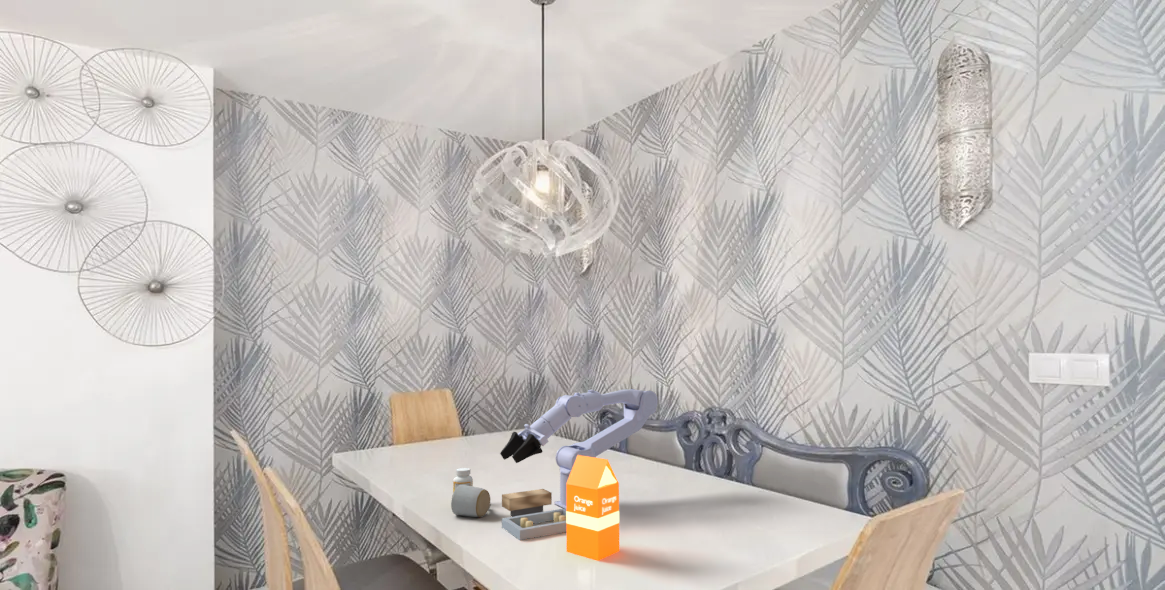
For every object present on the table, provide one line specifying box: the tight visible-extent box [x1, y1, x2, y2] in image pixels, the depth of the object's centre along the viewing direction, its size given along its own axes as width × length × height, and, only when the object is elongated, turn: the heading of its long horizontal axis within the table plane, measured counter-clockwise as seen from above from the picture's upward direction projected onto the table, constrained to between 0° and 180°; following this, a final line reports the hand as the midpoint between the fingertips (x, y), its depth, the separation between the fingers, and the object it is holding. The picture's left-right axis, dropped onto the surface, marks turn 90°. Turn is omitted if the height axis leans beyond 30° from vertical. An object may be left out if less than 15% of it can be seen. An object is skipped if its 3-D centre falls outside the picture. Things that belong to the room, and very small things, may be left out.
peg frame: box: [501, 508, 567, 541], centre depth 144 cm, size 17×11×2 cm, turn 120°
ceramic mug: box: [450, 484, 491, 518], centre depth 156 cm, size 11×8×8 cm
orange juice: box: [566, 455, 620, 562], centre depth 129 cm, size 8×9×20 cm
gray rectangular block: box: [509, 506, 544, 517], centre depth 155 cm, size 8×3×2 cm, turn 120°
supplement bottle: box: [452, 467, 474, 494], centre depth 166 cm, size 5×5×10 cm
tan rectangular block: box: [501, 488, 553, 512], centre depth 155 cm, size 12×5×3 cm, turn 120°
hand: (508, 458), depth 154 cm, fingers open, 7 cm apart
